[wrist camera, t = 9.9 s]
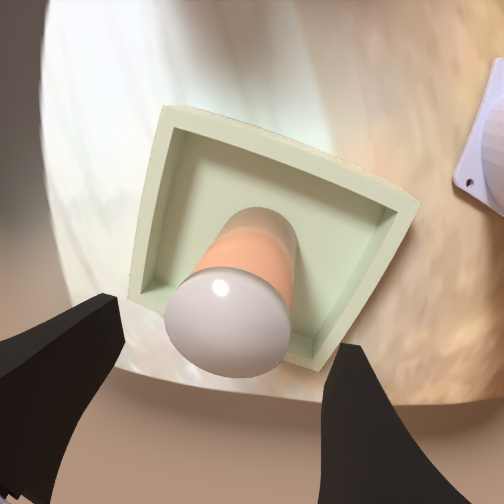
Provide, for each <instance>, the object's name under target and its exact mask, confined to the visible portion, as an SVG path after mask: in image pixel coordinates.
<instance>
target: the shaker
mask: <svg viewBox="0 0 504 504" xmlns="http://www.w3.org/2000/svg"><path fill="white" fill-rule="evenodd" d="M296 255H297V237H296V234H295V231H294V229H293V227H292V225H291V224H290V223H289V221H288V220H287V219H286V218H285V217H283V216H282V215H281V214H279V213H278V212H276V211H274V210H271V209H268V208H263V207H250V208H246V209H243V210H241V211H238V212H237V213H235V214H234V215H233V216H231V217H230V218H229V220H228V221H227V222H226V224H225V225H224V226H223V228H222V229H221V231H220V232H219V234H218V235H217V236H216V238H215V239H214V241H213V242H212V244H211V245H210V247H209V248H208V249H207V251H206V252H205V254H204V255H203V257H202V258H201V260H200V261H199V263H198V264H197V265H196V267H195V268H194V270H193V271H192V273H191V274H190V276H188V277H187V278H186V279H185V280H184V281H183V282H182V283H181V284H180V285H179V287H178V288H177V290H176V291H175V293H174V294H173V296H172V297H171V298H170V300H169V302H168V304H167V307H166V309H165V327H166V331H167V334H168V336H169V338H170V340H171V342H172V343H173V345H174V346H175V348H176V349H177V350H178V351H179V352H180V353H181V354H182V355H183V356H184V357H185V358H186V359H187V360H188V361H190V362H191V363H193V364H194V365H196V366H197V367H199V368H201V369H203V370H205V371H207V372H210V373H213V374H216V375H219V376H224V377H229V378H249V377H254V376H258V375H261V374H264V373H266V372H268V371H270V370H272V369H273V368H275V367H276V366H277V365H278V364H279V363H280V362H281V361H282V360H283V358H284V357H285V355H286V353H287V350H288V347H289V341H290V333H291V315H290V308H291V300H292V292H293V283H294V274H295V265H296Z"/></svg>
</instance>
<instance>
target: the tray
mask: <svg viewBox="0 0 504 504" xmlns="http://www.w3.org/2000/svg"><path fill="white" fill-rule="evenodd" d="M420 205H421V203H420V202H419V201H418V200H417V199H415V198H414V197H413V196H412V195H411V194H410V193H409V192H408V191H407V190H406V189H404V188H402V187H400V186H398V185H396V184H394V183H391V182H389V181H387V180H385V179H383V178H381V177H379V176H377V175H375V174H373V173H370V172H368V171H366V170H364V169H362V168H359V167H357V166H355V165H353V164H350V163H348V162H346V161H344V160H341V159H339V158H337V157H334V156H332V155H329V154H327V153H325V152H322V151H320V150H317V149H315V148H312V147H310V146H307V145H304V144H302V143H299V142H297V141H294V140H291V139H289V138H286V137H283V136H280V135H278V134H275V133H272V132H269V131H266V130H263V129H261V128H258V127H255V126H252V125H249V124H246V123H243V122H239V121H236V120H233V119H230V118H227V117H223V116H220V115H217V114H213V113H210V112H206V111H203V110H199V109H196V108H192V107H188V106H185V105H168V106H163V107H162V110H161V114H160V118H159V122H158V126H157V130H156V134H155V138H154V142H153V146H152V150H151V155H150V159H149V164H148V168H147V173H146V178H145V183H144V188H143V193H142V199H141V204H140V210H139V215H138V221H137V228H136V234H135V241H134V248H133V255H132V262H131V270H130V279H129V288H128V298H127V299H128V300H130V301H133V302H135V303H137V304H139V305H141V306H144V307H146V308H148V309H150V310H153V311H155V312H157V313H159V314H162V315H164V316H165V309H166V307H167V304H168V302H169V300H170V298H171V297H172V296H173V294H174V293H175V291H176V290H177V288H178V287H179V285H180V284H181V283H182V282H183V281H184V280H185V279H186V278H187V277H188V276H190V274H191V273H192V271H193V270H194V268H195V267H196V265H197V264H198V263H199V261H200V260H201V258H202V257H203V255H204V254H205V252H206V251H207V249H208V248H209V247H210V245H211V244H212V242H213V241H214V239H215V238H216V236H217V235H218V234H219V232H220V231H221V229H222V228H223V226H224V225H225V224H226V222H227V221H228V220H229V218H230V217H231V216H233V215H234V214H235V213H237V212H238V211H241V210H243V209H246V208H250V207H263V208H268V209H271V210H274V211H276V212H278V213H279V214H281V215H282V216H283V217H285V218H286V219H287V220H288V221H289V223H290V224H291V225H292V227H293V229H294V231H295V234H296V237H297V255H296V265H295V274H294V283H293V292H292V300H291V308H290V315H291V333H290V341H289V347H288V350H287V353H286V355H285V357H284V358H283V361H286V362H289V363H292V364H295V365H298V366H301V367H304V368H308V369H311V370H314V371H317V372H319V371H320V370H321V368H322V367H323V366H324V364H325V363H326V361H327V360H328V359H329V357H330V356H331V354H332V353H333V352H334V350H335V349H336V347H337V346H338V344H339V343H340V341H341V340H342V338H343V337H344V336H345V334H346V333H347V331H348V330H349V328H350V327H351V325H352V324H353V322H354V320H355V319H356V317H357V316H358V314H359V313H360V311H361V310H362V308H363V306H364V305H365V303H366V302H367V300H368V298H369V297H370V295H371V294H372V292H373V290H374V289H375V287H376V285H377V284H378V282H379V280H380V279H381V277H382V275H383V274H384V272H385V270H386V268H387V267H388V265H389V263H390V261H391V260H392V258H393V256H394V254H395V253H396V251H397V249H398V247H399V245H400V243H401V242H402V240H403V238H404V236H405V234H406V232H407V230H408V228H409V226H410V224H411V223H412V221H413V219H414V217H415V215H416V213H417V211H418V209H419V207H420Z"/></svg>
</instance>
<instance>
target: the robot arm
mask: <svg viewBox="0 0 504 504" xmlns="http://www.w3.org/2000/svg"><path fill="white" fill-rule="evenodd" d="M468 179H470V180H471V183H470V185H469V186H468V187H466V181H467V180H468ZM453 182H454V184H455V185H456V186H457V187H459V188H460V189H462V190H464V191H465V192H467V193H468V194H470V195H471V196H473V197H475V198H476V199H478V200H479V201H481V202H482V203H484V204H485V205H487V206H488V207H490V208H491V209H492V210H494V211H495V212H497V213H498V214H500V215H501V216H502V217H504V59H503V58H500V57H499V58H496V59H494V61H493V64H492V68H491V72H490V75H489V79H488V82H487V85H486V89H485V92H484V95H483V98H482V101H481V104H480V107H479V110H478V113H477V116H476V119H475V121H474V124H473V127H472V130H471V132H470V135H469V137H468V140H467V143H466V145H465V148H464V150H463V152H462V155H461V157H460V160H459V162H458V164H457V167H456V169H455V171H454V174H453ZM124 344H125V338H124V333H123V328H122V323H121V317H120V312H119V306H118V300H117V297H115V296H112V295H108V294H104V293H101V294H99V295H97V296H94V297H92V298H90V299H88V300H86V301H84V302H82V303H80V304H78V305H77V306H75V307H73V308H71V309H69V310H67V311H65V312H63V313H61V314H59V315H57V316H56V317H54V318H52V319H50V320H48V321H46V322H44V323H42V324H39V325H37V326H36V327H33V328H31V329H29V330H27V331H25V332H23V333H21V334H18V335H16V336H14V337H11V338H8V339H6V340H3V341H0V504H10V503H9V502H8V501H6V500H5V499H6V497H7V496H8V494H10V495H11V496H12V497H14V498H15V499H16V500H17V499H19V497H20V495H23V496H24V497H25V498H27V499H28V500H30V501H31V502H32V503H34V504H50V500H51V496H52V491H53V488H54V483H55V479H56V477H57V473H58V470H59V467H60V464H61V461H62V458H63V456H64V453H65V451H66V448H67V445H68V443H69V441H70V439H71V436H72V434H73V432H74V430H75V427H76V425H77V423H78V421H79V419H80V418H81V416H82V414H83V412H84V411H85V409H86V408H87V406H88V404H89V403H90V402H91V400H92V398H93V397H94V395H95V394H96V392H97V391H98V389H99V388H100V386H101V385H102V383H103V382H104V380H105V379H106V377H107V375H108V374H109V373H110V371H111V370H112V368H113V367H114V365H115V363H116V361H117V359H118V357H119V355H120V353H121V350H122V348H123V346H124ZM318 504H471V503H470V502H469V501H468V500H467V499H466V498H465V497H464V496H463V495H461V494H460V493H459V492H458V491H457V490H456V489H455V488H454V487H453V486H452V485H451V484H450V483H449V482H448V481H447V480H446V478H444V476H443V475H442V474H441V473H440V472H439V471H438V470H437V468H436V467H435V466H434V465H433V464H432V463H431V462H430V460H429V459H428V458H427V457H426V455H425V454H424V453H423V452H422V450H421V449H420V447H419V446H418V445H417V443H416V442H415V441H414V439H413V438H412V436H411V435H410V433H409V432H408V430H407V429H406V427H405V426H404V424H403V422H402V421H401V419H400V418H399V416H398V414H397V413H396V411H395V409H394V408H393V406H392V404H391V402H390V401H389V399H388V397H387V395H386V394H385V392H384V390H383V388H382V386H381V384H380V383H379V381H378V379H377V377H376V375H375V373H374V371H373V369H372V367H371V365H370V363H369V361H368V359H367V357H366V355H365V353H364V351H363V349H362V348H361V346H360V345H352V344H345V343H341V344H340V347H339V350H338V352H337V355H336V357H335V360H334V363H333V365H332V368H331V370H330V373H329V375H328V377H327V380H326V382H325V385H324V390H323V400H322V410H321V483H320V491H319V498H318Z"/></svg>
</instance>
